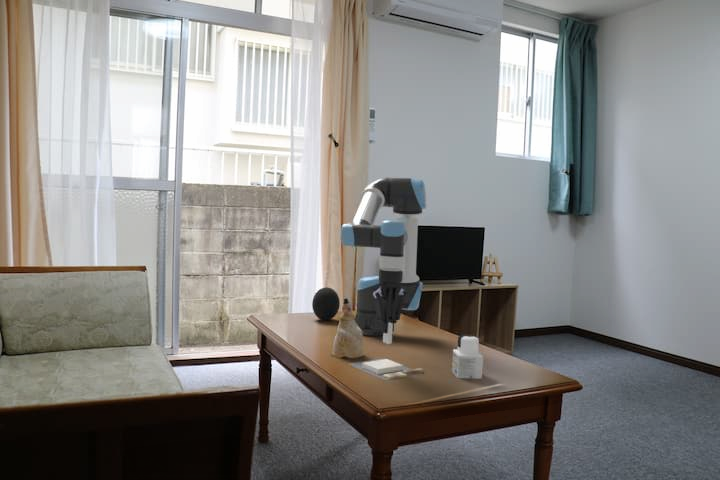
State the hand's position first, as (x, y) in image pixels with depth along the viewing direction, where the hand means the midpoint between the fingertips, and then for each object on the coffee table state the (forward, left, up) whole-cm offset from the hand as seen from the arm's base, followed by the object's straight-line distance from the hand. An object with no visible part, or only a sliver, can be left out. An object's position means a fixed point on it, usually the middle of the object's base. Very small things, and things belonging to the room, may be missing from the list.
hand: (387, 342), depth 180 cm
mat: (0, 0, -9) cm, 9 cm away
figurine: (+1, -20, -9) cm, 22 cm away
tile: (-4, 0, -8) cm, 8 cm away
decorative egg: (-25, -75, -9) cm, 80 cm away
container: (-19, +17, -9) cm, 27 cm away
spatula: (0, +8, -8) cm, 12 cm away
